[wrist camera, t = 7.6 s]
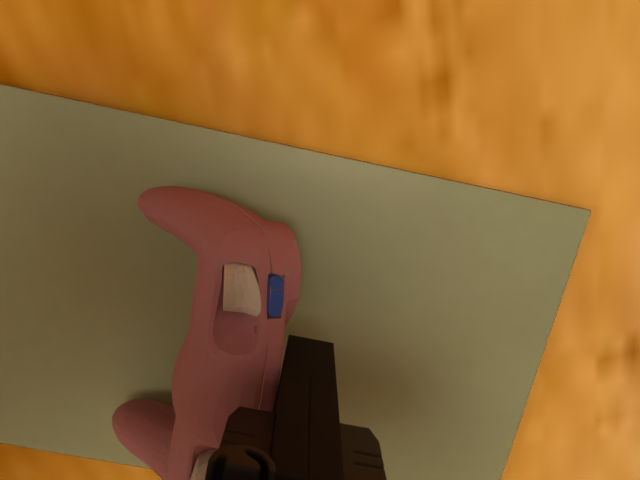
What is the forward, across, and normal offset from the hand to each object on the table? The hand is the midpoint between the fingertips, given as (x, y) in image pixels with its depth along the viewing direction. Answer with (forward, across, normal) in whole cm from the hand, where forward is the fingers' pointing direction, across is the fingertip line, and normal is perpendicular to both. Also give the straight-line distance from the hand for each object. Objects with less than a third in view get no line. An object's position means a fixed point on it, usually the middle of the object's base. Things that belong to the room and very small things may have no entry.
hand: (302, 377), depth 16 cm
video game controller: (+3, -4, 0) cm, 5 cm away
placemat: (+4, -8, 0) cm, 9 cm away
